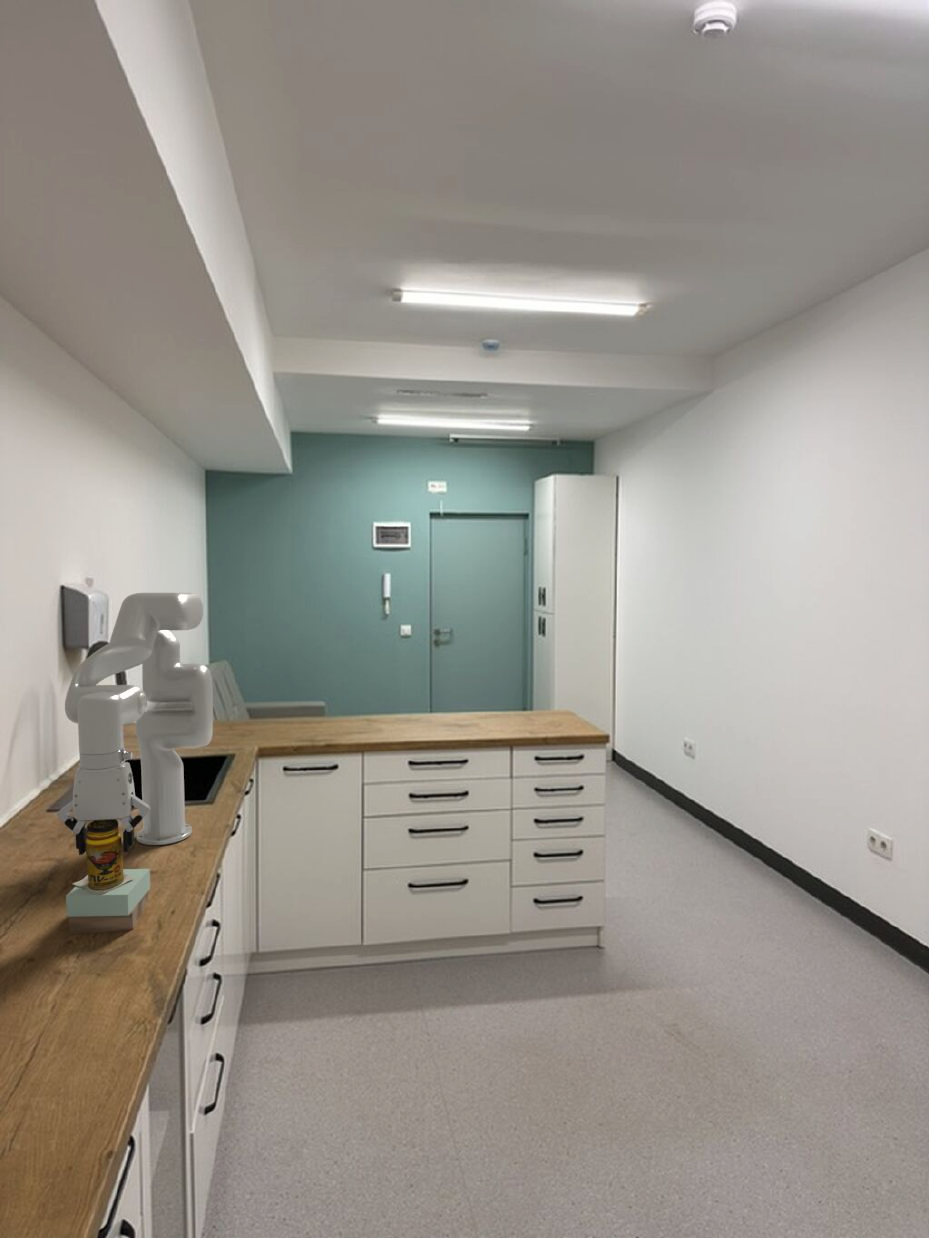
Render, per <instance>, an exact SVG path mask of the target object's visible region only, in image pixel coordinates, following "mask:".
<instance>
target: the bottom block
mask: <svg viewBox="0 0 929 1238" xmlns="http://www.w3.org/2000/svg"><path fill="white" fill-rule="evenodd" d="M147 902H148V903H149V891H148V892H147V893H146V894H145V895H144V897H143V898H142V899H141V900H140V902H139V903H138V904H137V905H136V907H135V908H134V909H133V910H132V912H131V913H130V914H129V915H128V916H84V917H67V918H68V935H77V934H78V935H79V934H80V935H81V934H89V933H91V934H93V933H105V932H120V931H132V930H134V929H135V927H136V925H137V924H138V921H139V919H140V918H141V916H142V914H143V912H144V910H145V908H146V907H145V906H147V905H148V903H147ZM146 904H147V905H146ZM144 907H145V908H144ZM143 909H144V910H143ZM141 913H142V914H141ZM140 915H141V916H140ZM139 917H140V918H139Z"/></svg>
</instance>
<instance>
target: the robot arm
mask: <svg viewBox="0 0 929 1238" xmlns="http://www.w3.org/2000/svg"><path fill="white" fill-rule="evenodd" d="M203 616H204V605H203V602H202V600H201V597H199V595H198V594H196V593H193V592H137V593H132V594H129V595H128V596H126V598H124V600H123V601H122V603H121V605H120V608H119V611H118V614H117V616H116V620H115V623H114V627H113V629H112V632H111V634H110V635H111V636H110V639H109V642H108V643H107V644H104V645H103V646H101V647H100V648H98V649H97V650H95V652H93V653H92V654H91V655H89V656H88V657H87V658H85V660H83V661H82V662H81V663H80V664H79V665H78V666H77V668H76V670H75V671H74V672H73V676H72V678H71V680H70V683H69V686H68V690H67V693H66V697H65V701H64V711H65V715H66V717H67V719H68V720H69V721H71V722H72V723H74V724H76V725H77V731H78V733H77V734H78V752H79V754H78V756H79V757H78V758H79V765H78V766H77V768H76V770H75V775H74V780H73V789H72V800H71V801H70V802H69V803H66V805H65V806H63V807H62V808H61V809H60V810H58V811H57V813H56V816H57V817H58V818H59V819H60V821H62V822H63V823H64V825H65V826H66V827H67V828H68V829H70V830H71V831H72V834H74V835H75V848H76V849H77V850H78V855H79V856H83V855H84V854H86V843H85V842H86V839H87V838H88V836H87V832H88V831H87V827H86V825H87V823H88V822H93V821H98V820H119V821H120V823H121V825H122V826H123V827H124V831H123V832H122V843H123V844H122V851H123V853H128V852H129V851H130V850H131V848H132V847H133V846H134V845H135V843H136V841H137V842H138V843H140V844H144V845H145V846H146V845H148V846H161V845H162V846H163V845H169V844H174V843H177V842H178V843H179V842H181V841H183V840H185V839H187V838H188V837H190V836H191V834H192V833H193V828H192V826H191V824H189V823H186V813H185V812H186V811H185V810H186V809H185V808H186V807H185V779H184V776H185V775H184V770H185V769H184V762H183V761H182V758H181V757H180V755H179V754H178V753H177V752H176V750H175V749H185V748H186V749H187V748H188V749H190V748H191V749H192V748H202V747H206V746H207V745H209V744H210V742H211V740H212V738H213V734H214V733H213V731H214V705H213V702H214V695H213V693H214V692H213V691H214V690H213V678H212V673H211V671H210V669H209V668H208V666H206V665H204V664H202V663H182V662H181V645H180V644H181V643H180V642H179V639H178V638H177V636H176V635H175V634H174V633H173V631H189V630H193V629H196V628H198V626H199V625H200V624H201V623H202V620H203ZM141 665H142V668H141V669H142V675H141V676H142V677H141V679H142V682H141V683H142V688H141V687H140V686H137V685H133V684H103V685H101V684H99V683H100V682H102V681H103V680H105V679H108V678H109V677H112V676H113V675H117V674H119V673H122V672H124V671H127V670H130V669H133V668H135V667H138V666H141ZM148 703H153V704H186V703H187V704H189V705H191V708H190V707H189V708H175V707H174V708H155V709H149V710H147V707H148ZM133 723H135V736H136V740H137V744H138V749H139V755H140V766H141V767H140V770H141V773H140V774H141V797H142V798H141V799H140V798H139V797H138V796H136V792H135V782H134V776H133V772H132V768H131V764H130V762H128V760H132V759H133V756H134V755H133V752H132V751H128V750H126V747H125V739H124V738H125V737H124V735H125V734H124V726H125V725H128V724H133ZM136 809H138V811H139V812H138V813H137V815H135V816H133V815H132V814H131V812H133V811H135V810H136ZM71 810H72V815H71V814H70V812H71ZM141 822H142V828H141V829H139V830H138V832H137V833H136V841H135V828H136V826H138V824H140V823H141Z"/></svg>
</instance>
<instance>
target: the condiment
mask: <svg viewBox="0 0 929 1238" xmlns="http://www.w3.org/2000/svg"><path fill="white" fill-rule="evenodd" d="M86 828H87V831H88V832H87V836H88V838H87V839H86V842H85V843H86V852H85V855H86V858H85V859H86V868H87V870H86V873H87V875H88V877H87V878H85V877H84V878H85V879H84V878H82V879H80V880H79V881H76V882H73V883H72V885H74V886H75V887H76V886H79V887H82V888H84V889H86V890H89V891H92V892H94V893H97V894H103V893H105V892H107V891H109V890H112V889H114V888H116V887H118V886H120V885H122V884H124V883H126V882H128V881H130V880H132V879H134V877H131V876H128V875H124V874H123V869H124V863H123V862H124V860H123V859H124V858H123V844H122V843H123V841H122V835H121V833H120V832H119V831H120V828H119V821H118V819H116V820H98V821H90V823H88V824H87V827H86Z"/></svg>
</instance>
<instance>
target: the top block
mask: <svg viewBox="0 0 929 1238" xmlns="http://www.w3.org/2000/svg"><path fill="white" fill-rule="evenodd" d="M150 869H151V868H123V874H124V875H128V876H131V877H134V879H132V880H130V881H128V882H126V883H124V884H122V885H120V886H118V887H116V888H114V889H112V890H109V891H107V892H105V893H103V894H97V893H94V892H92V891H89V890H86V889H84V888H82V887H79V886H76V885H75V887H73V889H71V890H70V892H68V893H67V894H66V895H65V905H66V906H65V907H66V917H67V918H69V917H84V916H128V915H129V914H130V913H131V912H132V910H133V909H134V908H135V907H136V905H137V904H138V903H139V902H140V900H141V899H142V898H143V897H144V895H145V894H146V893H147V892H148V893H149V891H150V890H151V872H150V871H151V870H150ZM87 877H88V874H87V875H86V876H85V877H84V878H83V879H85V878H87Z"/></svg>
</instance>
